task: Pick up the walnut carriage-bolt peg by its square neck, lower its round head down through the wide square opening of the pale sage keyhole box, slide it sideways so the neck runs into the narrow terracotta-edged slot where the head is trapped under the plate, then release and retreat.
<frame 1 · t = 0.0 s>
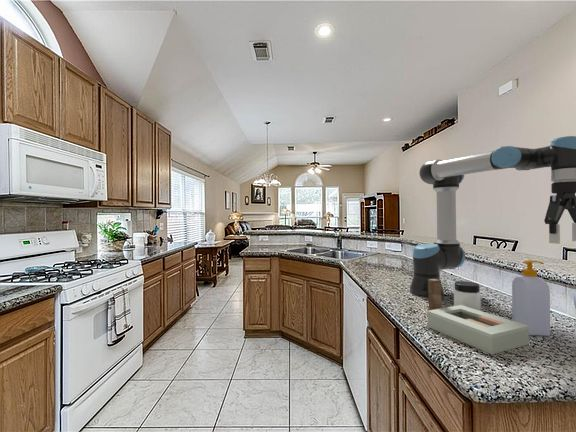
hand: (566, 242, 104), 28 cm above the worktop, fingers open, 13 cm apart
jar: (467, 315, 113), on the worktop
bolt peg: (435, 317, 111), on the worktop
keyhole box: (474, 334, 95), on the worktop
soap bottle: (531, 331, 97), on the worktop
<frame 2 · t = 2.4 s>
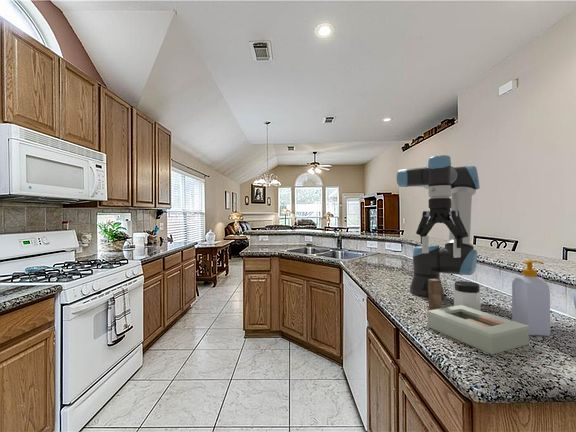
hand: (440, 255, 110), 23 cm above the worktop, fingers open, 13 cm apart
nothing on the worktop moved.
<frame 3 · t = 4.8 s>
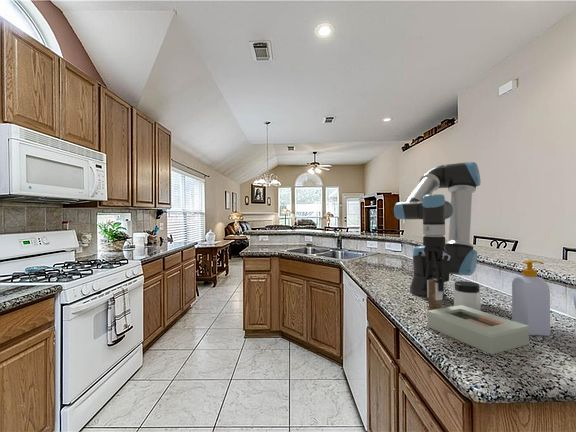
hand: (434, 298, 111), 7 cm above the worktop, fingers closed on bolt peg, 3 cm apart
bolt peg: (435, 317, 111), on the worktop, touching gripper
everything else where it was.
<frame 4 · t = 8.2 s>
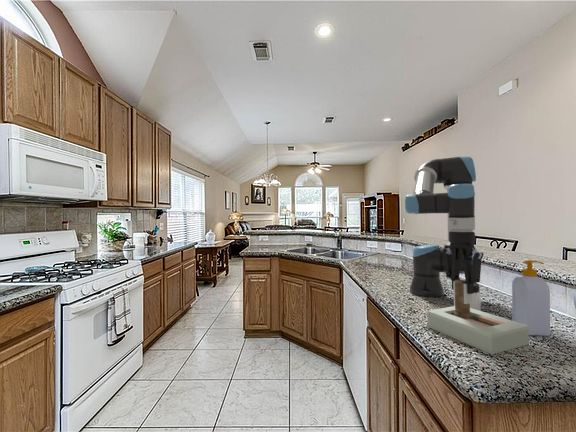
hand: (462, 301, 98), 10 cm above the worktop, fingers closed on bolt peg, 3 cm apart
bolt peg: (462, 322, 98), point 3 cm above the worktop, touching gripper
everything else where it was.
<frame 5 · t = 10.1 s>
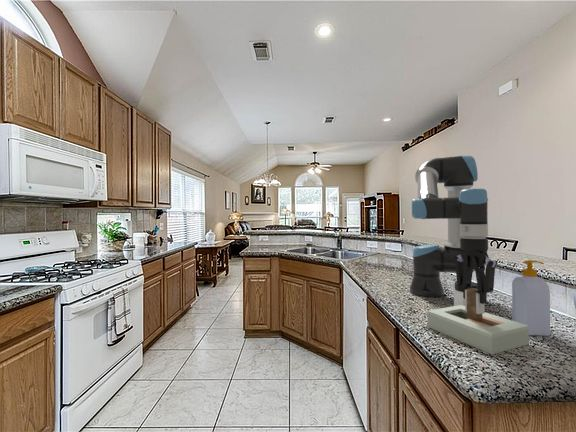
hand: (474, 311, 94), 8 cm above the worktop, fingers closed on bolt peg, 3 cm apart
bolt peg: (474, 333, 94), point 1 cm above the worktop, touching gripper
everything else where it was.
when the fingers open (7 cm above the worktop, at t = 11.7 s): bolt peg stays where it is, resting in keyhole box.
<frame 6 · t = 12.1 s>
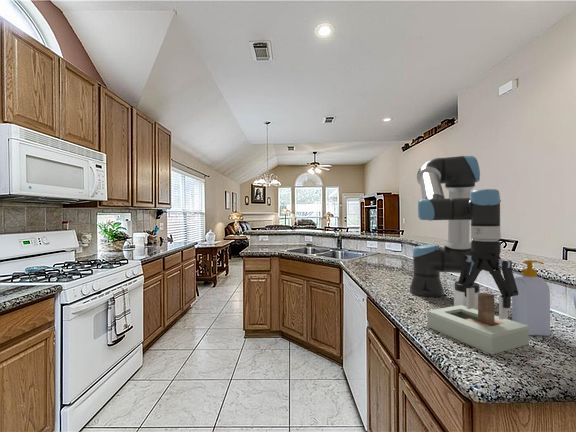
hand: (486, 313, 91), 8 cm above the worktop, fingers open, 9 cm apart
bolt peg: (486, 339, 91), resting in keyhole box
everything else where it was.
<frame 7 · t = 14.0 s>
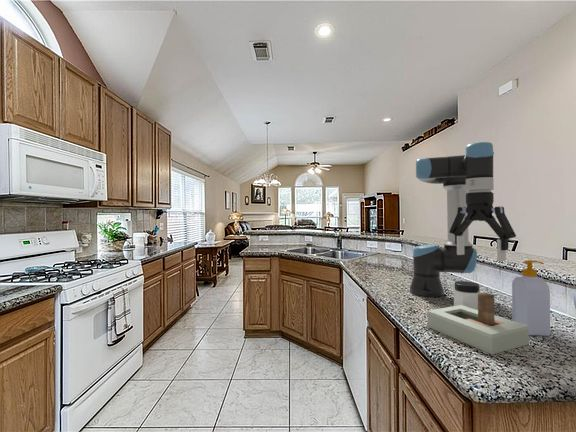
hand: (479, 257, 96), 24 cm above the worktop, fingers open, 13 cm apart
nothing on the worktop moved.
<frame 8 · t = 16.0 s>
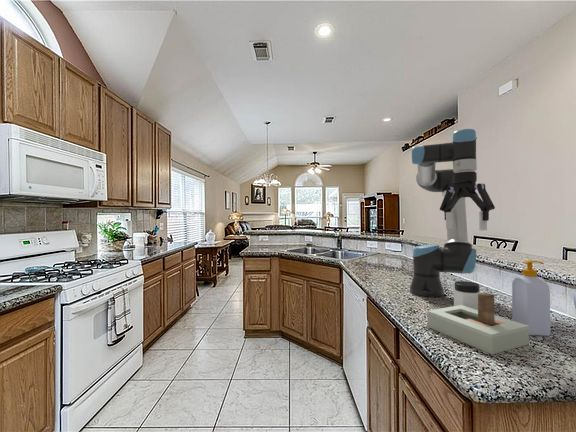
hand: (465, 229, 110), 33 cm above the worktop, fingers open, 13 cm apart
nothing on the worktop moved.
at the end: bolt peg 0.5 cm from the target spot on the keyhole box, point 0.0 cm above the keyhole box's base; bolt peg tilted 0°; the gripper is holding nothing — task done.
